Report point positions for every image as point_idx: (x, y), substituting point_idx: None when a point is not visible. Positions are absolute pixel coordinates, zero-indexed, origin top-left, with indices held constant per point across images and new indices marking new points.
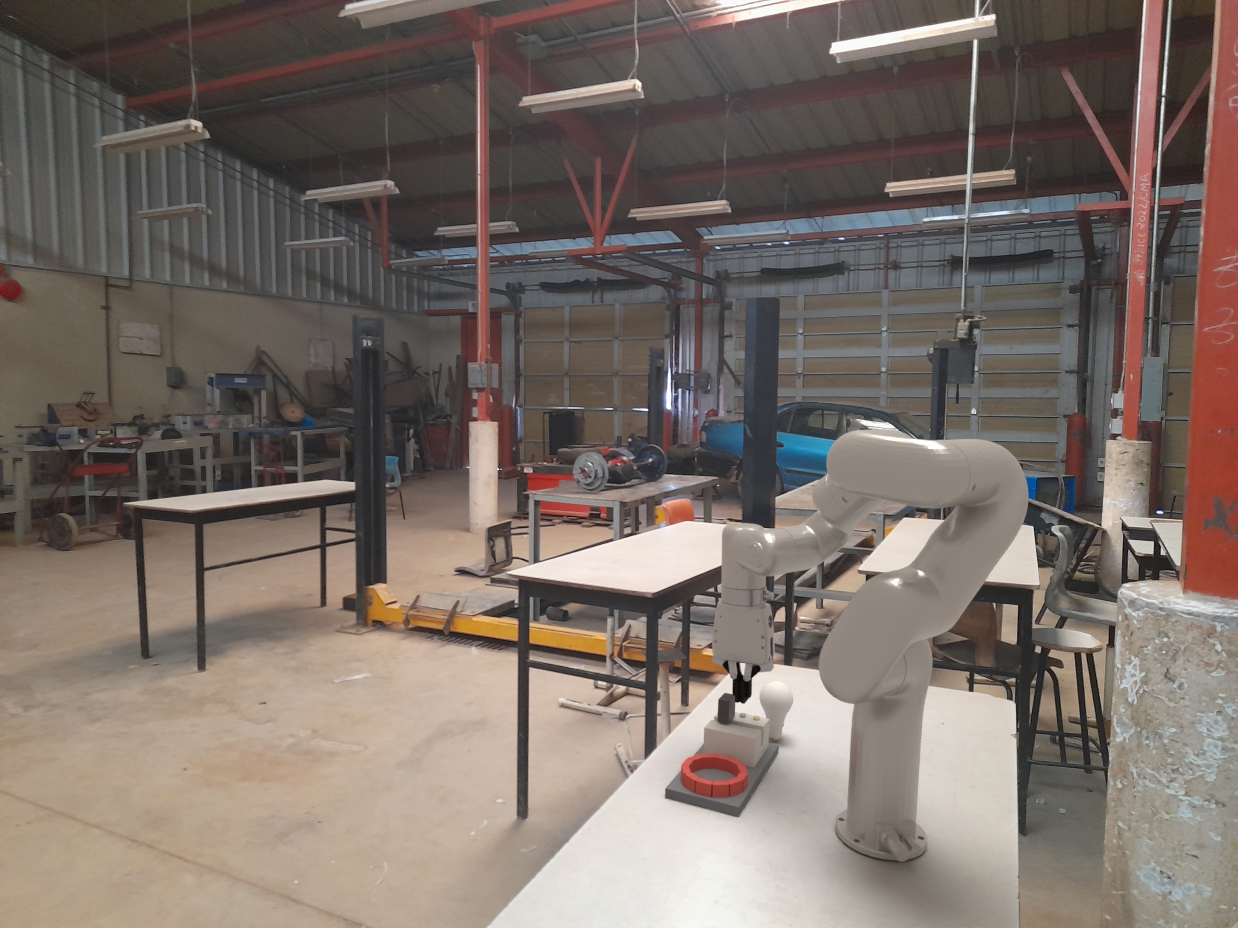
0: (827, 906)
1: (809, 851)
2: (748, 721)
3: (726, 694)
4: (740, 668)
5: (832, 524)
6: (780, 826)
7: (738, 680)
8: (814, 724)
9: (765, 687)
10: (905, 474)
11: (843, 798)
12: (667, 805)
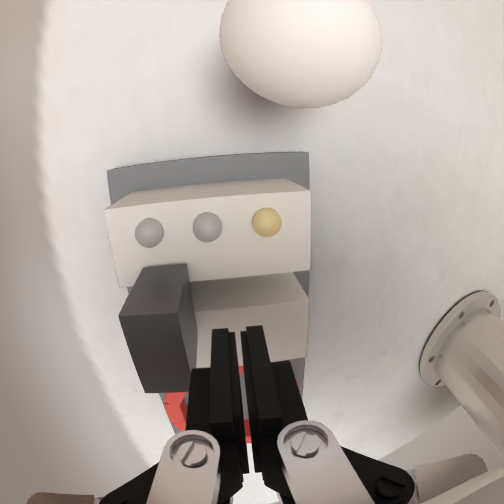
0: (394, 444)
1: (387, 410)
2: (245, 258)
3: (137, 330)
4: (217, 478)
5: None
6: (354, 397)
7: (241, 473)
8: None
9: (266, 45)
10: None
11: (437, 280)
12: None
